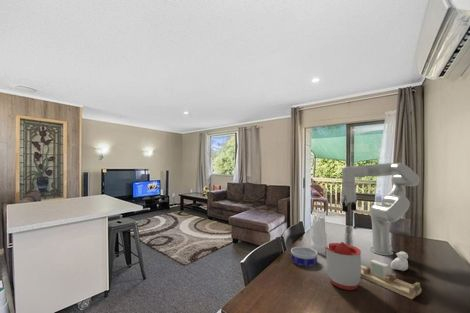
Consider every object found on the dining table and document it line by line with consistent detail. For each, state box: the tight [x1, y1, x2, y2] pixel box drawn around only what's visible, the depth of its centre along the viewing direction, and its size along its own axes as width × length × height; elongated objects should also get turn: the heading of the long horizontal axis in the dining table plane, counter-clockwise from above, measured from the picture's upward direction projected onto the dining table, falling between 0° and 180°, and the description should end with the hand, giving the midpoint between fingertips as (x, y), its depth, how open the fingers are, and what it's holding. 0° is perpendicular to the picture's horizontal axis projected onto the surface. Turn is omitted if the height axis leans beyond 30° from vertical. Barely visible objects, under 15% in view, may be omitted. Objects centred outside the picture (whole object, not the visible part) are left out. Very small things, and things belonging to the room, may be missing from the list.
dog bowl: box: [290, 246, 318, 267], centre depth 128 cm, size 15×15×6 cm
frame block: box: [369, 259, 390, 280], centre depth 106 cm, size 3×7×6 cm, turn 30°
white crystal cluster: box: [310, 212, 329, 255], centre depth 145 cm, size 11×11×25 cm
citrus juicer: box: [321, 241, 362, 291], centre depth 103 cm, size 16×17×20 cm
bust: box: [390, 250, 409, 272], centre depth 117 cm, size 12×8×11 cm
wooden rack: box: [360, 264, 422, 300], centre depth 106 cm, size 10×30×4 cm, turn 30°
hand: (349, 210), depth 139 cm, fingers open, 9 cm apart
